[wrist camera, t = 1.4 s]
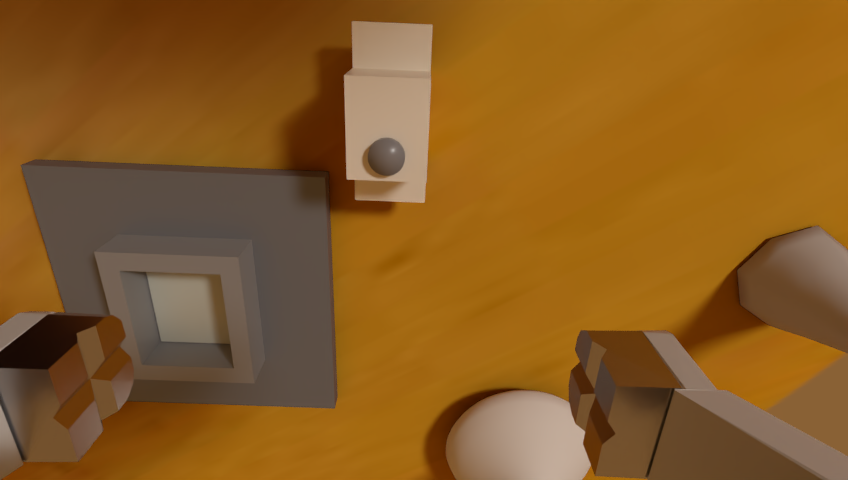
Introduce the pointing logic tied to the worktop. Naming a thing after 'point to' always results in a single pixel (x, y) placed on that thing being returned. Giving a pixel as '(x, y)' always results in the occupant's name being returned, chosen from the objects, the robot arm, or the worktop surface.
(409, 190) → the block
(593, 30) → the worktop surface
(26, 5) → the worktop surface
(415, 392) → the worktop surface
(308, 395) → the plate
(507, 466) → the flower in vase
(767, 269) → the flask
